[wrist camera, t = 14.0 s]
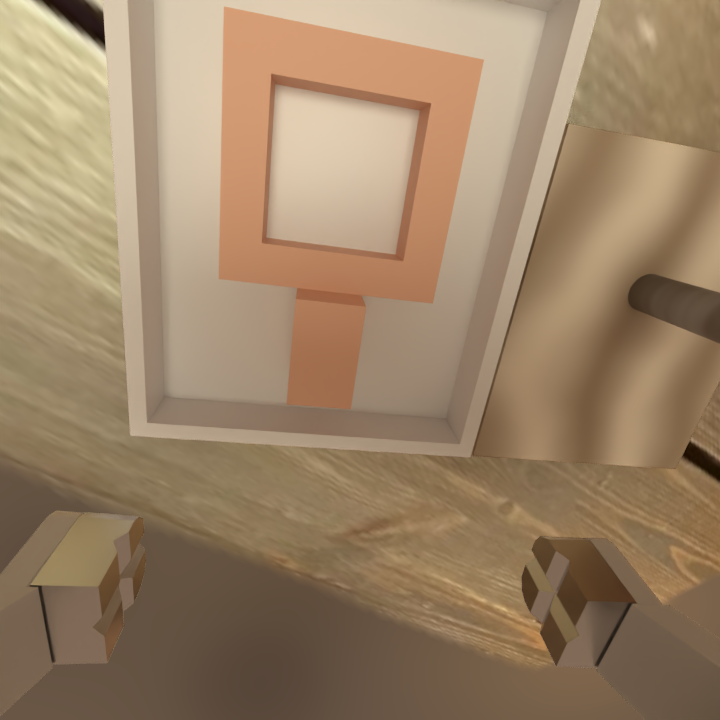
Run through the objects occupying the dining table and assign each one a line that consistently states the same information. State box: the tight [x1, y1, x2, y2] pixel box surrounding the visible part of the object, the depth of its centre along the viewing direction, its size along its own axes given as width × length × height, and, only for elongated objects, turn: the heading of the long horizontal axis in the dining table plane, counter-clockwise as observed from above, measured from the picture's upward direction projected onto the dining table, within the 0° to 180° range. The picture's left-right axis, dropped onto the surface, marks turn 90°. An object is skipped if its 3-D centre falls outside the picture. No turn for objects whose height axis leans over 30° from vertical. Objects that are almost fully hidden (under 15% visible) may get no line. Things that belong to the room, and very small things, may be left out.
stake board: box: [472, 124, 720, 469], centre depth 19 cm, size 14×18×13 cm
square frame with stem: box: [219, 6, 484, 409], centre depth 19 cm, size 10×15×4 cm, turn 172°
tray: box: [103, 0, 601, 458], centre depth 20 cm, size 18×22×4 cm
